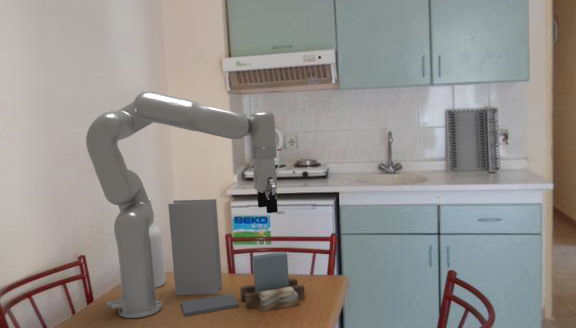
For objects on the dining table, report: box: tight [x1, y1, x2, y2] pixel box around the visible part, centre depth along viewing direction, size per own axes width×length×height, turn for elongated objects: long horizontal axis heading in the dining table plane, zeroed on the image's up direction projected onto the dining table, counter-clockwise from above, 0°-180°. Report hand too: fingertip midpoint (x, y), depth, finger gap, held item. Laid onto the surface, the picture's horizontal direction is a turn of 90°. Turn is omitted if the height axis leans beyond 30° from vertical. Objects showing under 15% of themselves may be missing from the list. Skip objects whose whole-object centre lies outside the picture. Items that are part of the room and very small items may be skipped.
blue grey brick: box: [252, 251, 290, 292], centre depth 159 cm, size 10×3×14 cm, turn 108°
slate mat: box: [180, 293, 240, 317], centre depth 157 cm, size 16×9×1 cm, turn 108°
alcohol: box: [148, 197, 166, 289], centre depth 177 cm, size 9×9×30 cm
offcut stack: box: [257, 287, 301, 313], centre depth 154 cm, size 12×4×5 cm, turn 108°
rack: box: [239, 277, 306, 310], centre depth 160 cm, size 18×8×4 cm, turn 108°
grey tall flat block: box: [168, 198, 223, 296], centre depth 168 cm, size 14×6×30 cm, turn 84°
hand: (267, 209), depth 157 cm, fingers open, 9 cm apart
